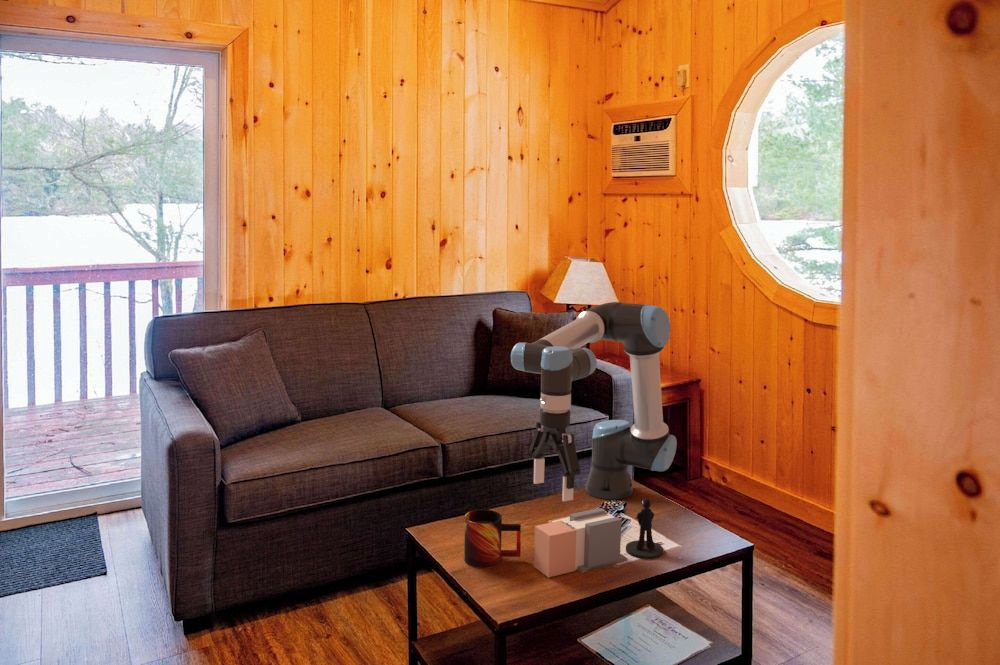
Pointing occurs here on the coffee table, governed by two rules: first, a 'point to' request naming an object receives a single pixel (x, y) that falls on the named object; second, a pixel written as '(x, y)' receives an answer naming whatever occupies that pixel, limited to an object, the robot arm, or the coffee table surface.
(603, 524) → the two-tone box
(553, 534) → the stub
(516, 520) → the coffee table surface
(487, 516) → the mug
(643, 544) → the figurine
